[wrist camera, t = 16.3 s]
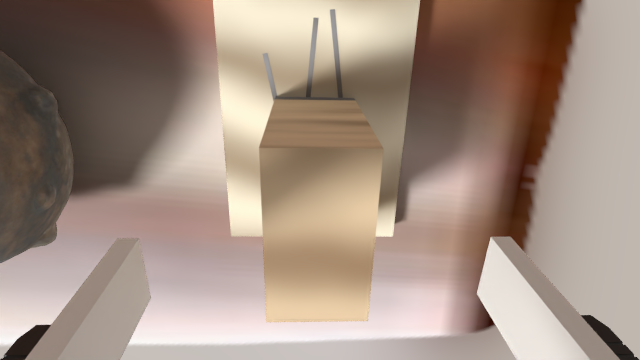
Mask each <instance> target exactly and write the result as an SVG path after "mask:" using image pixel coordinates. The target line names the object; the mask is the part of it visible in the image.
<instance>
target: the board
mask: <svg viewBox="0 0 640 360" xmlns="http://www.w3.org/2000/svg"><path fill="white" fill-rule="evenodd" d="M419 5H420V0H213V6H214V19H215V32H216V45H217V58H218V71H219V84H220V97H221V111H222V124H223V137H224V150H225V163H226V176H227V189H228V202H229V215H230V228H231V236H263V230H262V207H261V183H260V159H259V146H260V143H261V140H262V137H263V134H264V131H265V128H266V125H267V121H268V118H269V115H270V112H271V109H272V106H273V103H274V100H275V97H328V98H354V99H355V100H356V102H357V104H358V106H359V107H360V109H361V111H362V112H363V114H364V116H365V118H366V119H367V121H368V123H369V124H370V126H371V128H372V130H373V131H374V133H375V135H376V136H377V138H378V140H379V142H380V143H381V145H382V147H383V149H384V150H383V161H382V171H381V182H380V193H379V204H378V215H377V226H376V236H393V230H394V222H395V213H396V204H397V196H398V187H399V178H400V170H401V161H402V152H403V144H404V135H405V126H406V118H407V109H408V100H409V92H410V83H411V75H412V66H413V57H414V49H415V40H416V31H417V23H418V14H419Z"/></svg>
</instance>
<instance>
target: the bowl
mask: <svg viewBox="0 0 640 360" xmlns="http://www.w3.org/2000/svg"><path fill="white" fill-rule="evenodd" d="M73 159H74V158H73V153H72V147H71V142H70V138H69V135H68V132H67V128H66V125H65V124H64V122H63V120H62V118H61V117H60V115H59V113H58V103H57V100H56V99H55V97H54V95H53V93H52V92H51V91H49V90H47V89H45V88H43V87H42V86H40V85H38V84H37V83H36V82H35V81H34V79H33V78H32V77H31V76H30V75H29V74H28V73H27V72H26V71H25V70H24V69H23V68H22V67H21V66H20V65H19V64H18V63H16V62H15V61H14V60H13V59H12V58H10V57H9V56H8V55H6V54H5V53H3V52H2V51H1V50H0V263H2V262H4V261H6V260H8V259H10V258H12V257H14V256H16V255H18V254H20V253H22V252H24V251H26V250H28V249H30V248H34V247H39V246H45V245H47V244H49V243H51V242H53V241H54V240H55V239H56V236H57V227H56V221H57V220H58V218H59V216H60V214H61V212H62V210H63V209H64V207H65V205H66V203H67V201H68V198H69V195H70V192H71V189H72V182H73V174H74V171H73Z"/></svg>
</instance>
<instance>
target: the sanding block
mask: <svg viewBox="0 0 640 360" xmlns="http://www.w3.org/2000/svg"><path fill="white" fill-rule="evenodd" d="M383 150H384V149H383V147H382V145H381V143H380V142H379V140H378V138H377V136H376V135H375V133H374V131H373V130H372V128H371V126H370V124H369V123H368V121H367V119H366V118H365V116H364V114H363V112H362V111H361V109H360V107H359V106H358V104H357V102H356V100H355V99H354V98H328V97H275V100H274V103H273V106H272V109H271V112H270V115H269V118H268V121H267V125H266V128H265V131H264V134H263V137H262V140H261V143H260V146H259V159H260V183H261V207H262V230H263V254H264V277H265V301H266V322H322V321H368V313H369V302H370V291H371V280H372V269H373V259H374V248H375V237H376V226H377V215H378V204H379V193H380V182H381V171H382V161H383Z"/></svg>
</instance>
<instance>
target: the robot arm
mask: <svg viewBox="0 0 640 360" xmlns="http://www.w3.org/2000/svg"><path fill="white" fill-rule="evenodd" d="M477 295H478V296H479V298H480V300H481V301H482V303H483V305H484V306H485V308H486V310H487V311H488V313H489V315H490V316H491V318H492V319H493V321H494V323H495V324H496V326H497V328H498V329H499V331H500V333H501V334H502V336H503V338H504V339H505V341H506V343H507V344H508V346H509V348H510V349H511V351H512V352H513V354H514V356H515V357H516V359H517V360H639V359H638V358H637V357H634V354H633V353H632V352H631V351H630V350H629V348H628V347H627V346H626V345H623V344H622V341H621V340H620V339H619V338H618V337H617V336H616V335H615V334H614V333H613V332H612V331H611V329H610V328H609V327H607V326H606V325H604V324H603V323H601V322H600V321H598V320H597V319H595V318H594V317H593V316H591V315H580V314H579V313H578V312H577V311H576V310H575V309H574V308H573V306H572V305H571V304H570V303H569V302H568V301H567V300H566V299H565V298H564V296H563V295H562V294H561V293H560V292H559V291H558V290H557V288H556V287H555V286H554V285H553V284H552V283H551V282H550V281H549V280H548V279H547V278H546V276H545V275H544V274H543V273H542V272H541V271H540V270H539V269H538V267H537V266H536V265H535V264H534V263H533V262H532V260H530V258H529V257H528V256H527V255H526V254H525V253H524V252H523V250H522V249H521V248H520V247H519V246H518V245H517V244H516V243H515V241H514V240H513V239H512V238H511V237H491V239H490V243H489V247H488V251H487V255H486V259H485V263H484V267H483V271H482V275H481V279H480V283H479V287H478V291H477ZM150 299H151V296H150V291H149V286H148V281H147V276H146V271H145V265H144V260H143V255H142V250H141V245H140V240H139V238H131V239H117V240H116V241H115V242H114V244H113V245H112V246H111V248H110V249H109V250H108V252H107V253H106V254H105V256H104V257H103V258H102V259H101V261H100V262H99V263H98V265H97V266H96V267H95V269H94V270H93V271H92V273H91V274H90V275H89V276H88V278H87V279H86V280H85V282H84V283H83V284H82V286H81V287H80V288H79V290H78V291H77V292H76V293H75V295H74V296H73V297H72V299H71V300H70V301H69V303H68V304H67V305H66V306H65V308H64V309H63V310H62V312H61V313H60V314H59V316H58V317H57V318H56V320H55V321H54V322H53V323H52V325H36V326H35V327H33V328H32V329H31V330H29V331H28V332H26V333H25V334H24V335H22V336H21V337H20V338H18V339H17V340H16V342H15V343H14V344H13V345H12V346H11V348H10V349H9V350H8V351H7V353H6V354H5V355H4V358H3V359H1V360H120V358H121V357H122V355H123V353H124V351H125V349H126V347H127V345H128V343H129V341H130V339H131V337H132V335H133V333H134V331H135V329H136V327H137V325H138V323H139V321H140V319H141V317H142V315H143V313H144V311H145V309H146V307H147V305H148V303H149V301H150Z"/></svg>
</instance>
